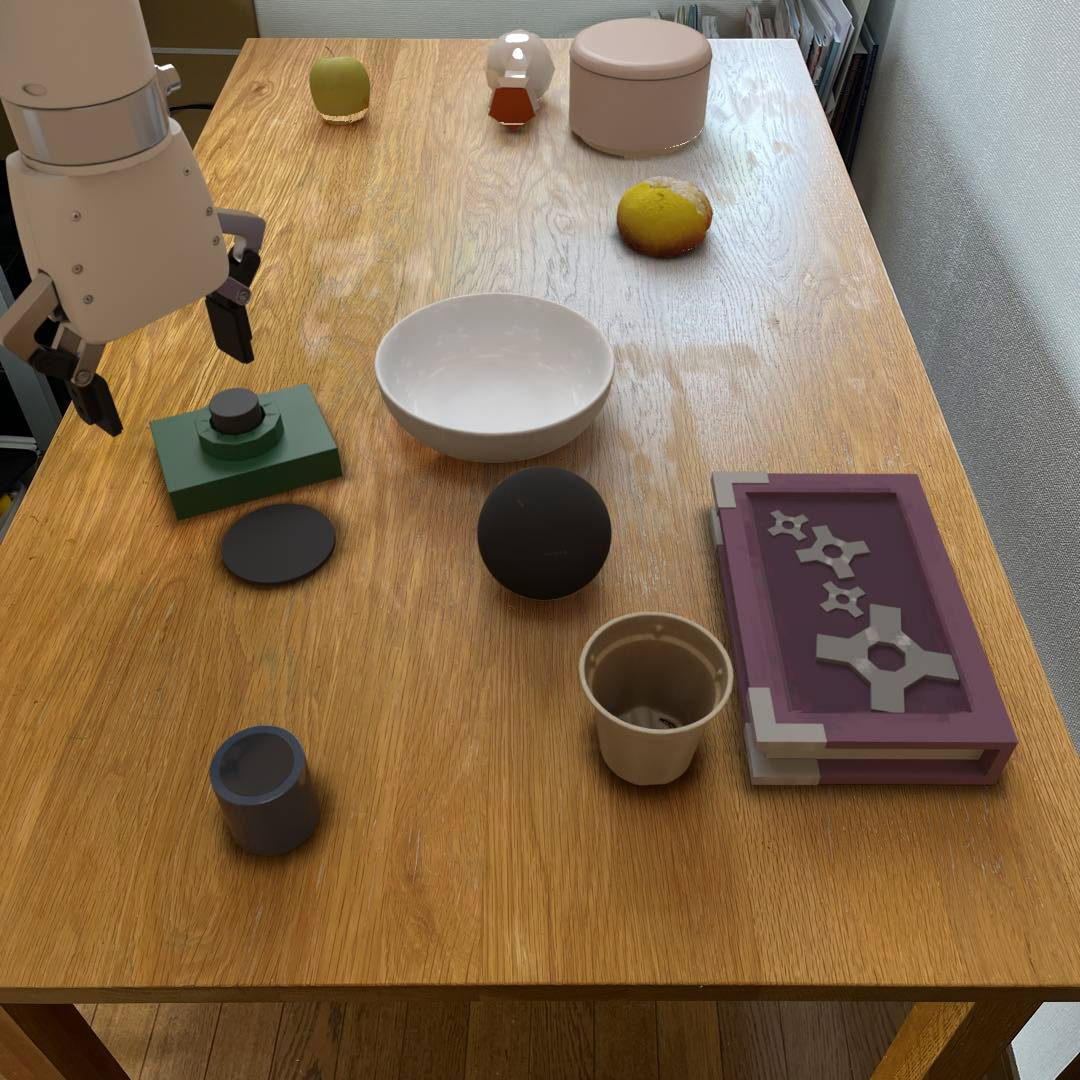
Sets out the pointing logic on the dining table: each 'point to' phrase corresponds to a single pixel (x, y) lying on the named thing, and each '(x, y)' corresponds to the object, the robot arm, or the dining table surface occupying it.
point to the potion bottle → (517, 76)
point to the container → (638, 86)
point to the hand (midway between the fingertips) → (173, 389)
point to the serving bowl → (495, 375)
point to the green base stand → (245, 454)
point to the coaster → (278, 544)
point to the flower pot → (653, 692)
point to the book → (852, 634)
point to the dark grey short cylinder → (235, 411)
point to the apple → (339, 87)
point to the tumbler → (265, 789)
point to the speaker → (544, 533)
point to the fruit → (663, 217)
